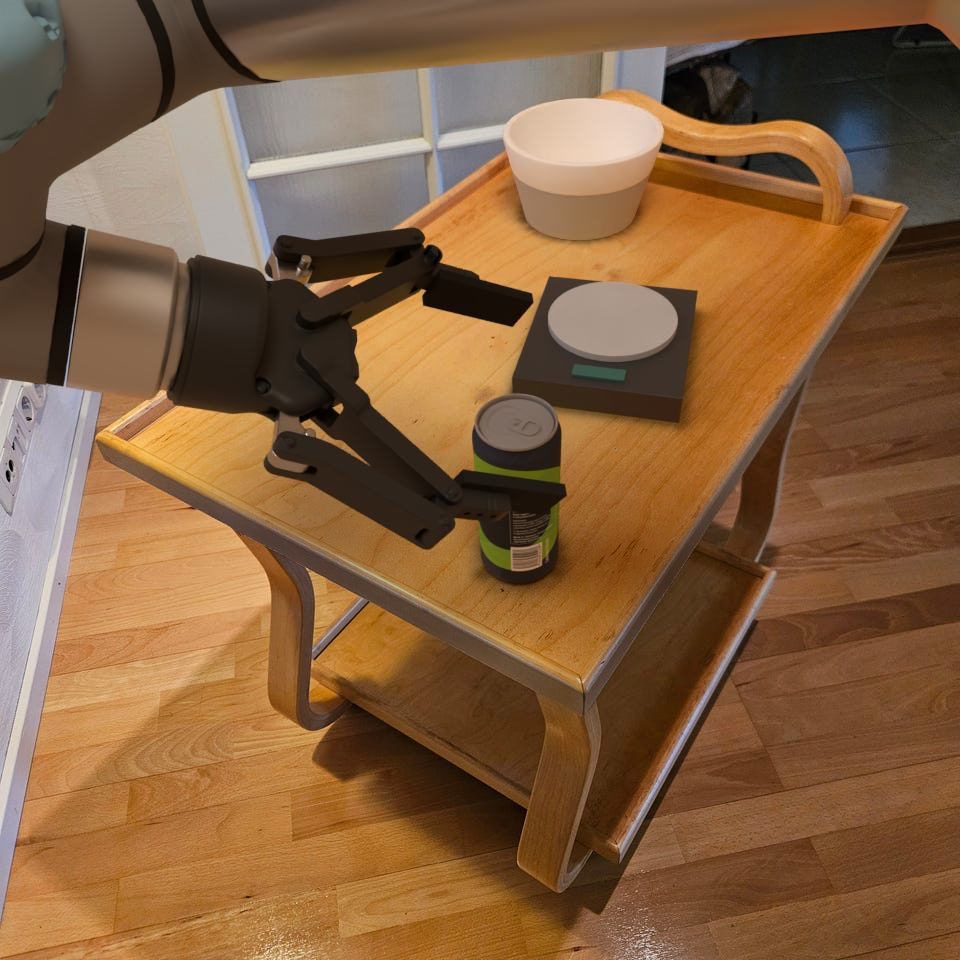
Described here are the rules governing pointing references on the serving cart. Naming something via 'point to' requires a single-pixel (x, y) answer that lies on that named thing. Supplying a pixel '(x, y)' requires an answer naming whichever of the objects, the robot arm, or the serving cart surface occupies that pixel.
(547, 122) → the bowl
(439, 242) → the serving cart surface
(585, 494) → the serving cart surface
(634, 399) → the scale
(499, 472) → the beverage can
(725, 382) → the serving cart surface
